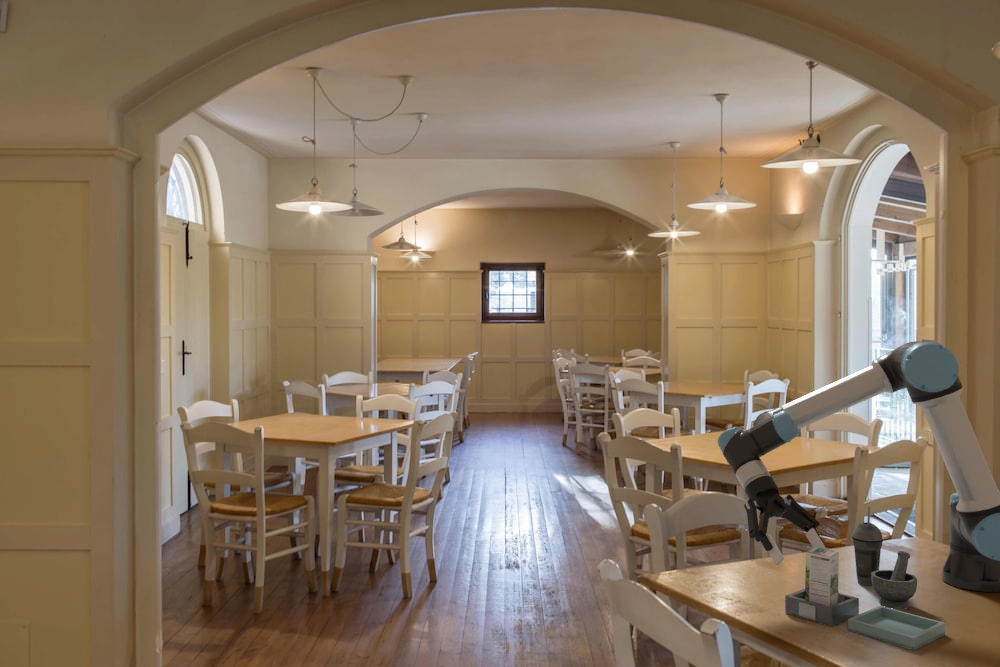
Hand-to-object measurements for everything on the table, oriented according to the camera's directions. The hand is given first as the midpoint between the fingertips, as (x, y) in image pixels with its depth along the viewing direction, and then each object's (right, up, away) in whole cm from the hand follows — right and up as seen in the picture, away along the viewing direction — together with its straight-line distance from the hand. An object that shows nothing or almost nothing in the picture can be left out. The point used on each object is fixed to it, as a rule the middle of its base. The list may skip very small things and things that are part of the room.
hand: (802, 558), depth 190 cm
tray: (+14, -12, -15) cm, 24 cm away
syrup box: (+3, -12, -4) cm, 13 cm away
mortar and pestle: (+23, -12, +3) cm, 26 cm away
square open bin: (+3, -12, -4) cm, 13 cm away
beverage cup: (+23, -12, +18) cm, 32 cm away
